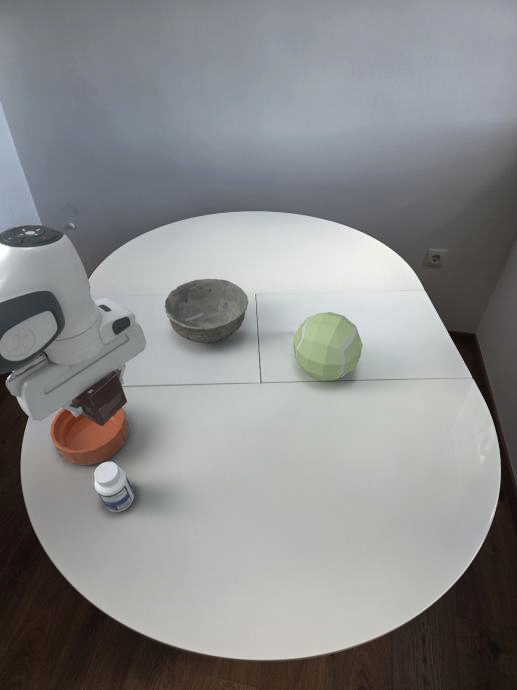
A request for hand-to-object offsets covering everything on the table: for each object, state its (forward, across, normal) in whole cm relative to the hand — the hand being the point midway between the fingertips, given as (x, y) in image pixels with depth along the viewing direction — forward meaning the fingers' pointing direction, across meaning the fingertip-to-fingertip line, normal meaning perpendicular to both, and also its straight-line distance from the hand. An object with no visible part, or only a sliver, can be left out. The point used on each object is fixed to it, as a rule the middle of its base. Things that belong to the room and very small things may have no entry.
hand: (98, 397), depth 70 cm
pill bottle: (+21, -5, -4) cm, 22 cm away
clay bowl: (+21, 0, +11) cm, 24 cm away
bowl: (+21, +39, +16) cm, 47 cm away
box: (+3, 0, 0) cm, 3 cm away
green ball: (+21, +46, -15) cm, 53 cm away
